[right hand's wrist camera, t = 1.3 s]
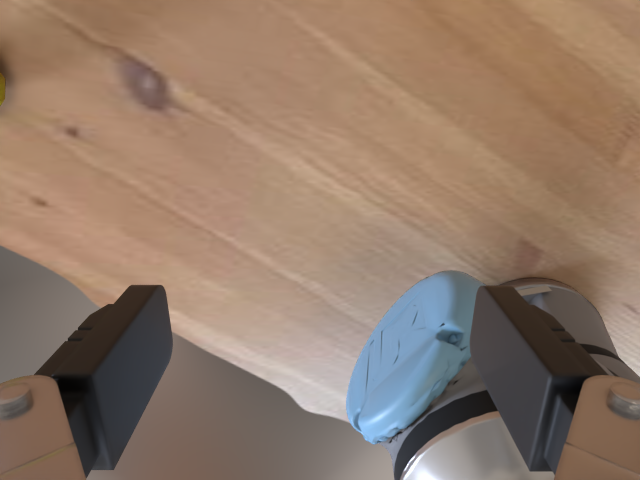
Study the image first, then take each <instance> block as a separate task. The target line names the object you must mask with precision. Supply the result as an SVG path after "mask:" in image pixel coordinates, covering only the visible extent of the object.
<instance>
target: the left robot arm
mask: <svg viewBox="0 0 640 480" xmlns="http://www.w3.org/2000/svg"><path fill="white" fill-rule="evenodd" d="M480 286H487V285H485V284H484V283H482V282H480V281H478V280H477V279H475V278H473V277H471V276H470V275H468V274H466V273H463V272H459V271H452V270H450V271H442V272H438V273H436V274H434V275H432V276H430V277H426V278H425V279H423V280H421V281H420V282H418V283H417V284H415V285H414V286H413V287H411V288H410V289H409V290H408V291H407V292H406V293H405V294H403V295H402V296H401V297H400V298H399V299H398V300H397V301H396V303H395V304H394V305H393V306H392V307H391V308H390V309H389V311H388V312H387V313H386V314H385V316H384V317H383V318H382V319H381V321H380V322H379V324H378V325H377V326H376V328H375V329H374V331H373V332H372V334H371V336H370V338H369V339H368V341H367V343H366V345H365V347H364V348H363V350H362V352H361V354H360V356H359V358H358V360H357V363H356V365H355V367H354V370H353V373H352V376H351V379H350V383H349V387H348V392H347V398H346V409H347V415H348V419H349V421H350V423H351V425H352V426H353V427H354V428H355V430H357V431H358V432H360V433H361V434H362V435H363V437H364V439H365V440H366V441H369V442H370V443H372V444H377V443H379V444H381V445H382V446H384V447H385V448H386V449H387V450H388V451H389V453H390V455H391V458H392V463H393V471H394V480H554V477H555V475H554V473H553V472H530V471H529V469H528V467H527V465H526V463H525V462H524V460H523V458H522V456H521V454H520V452H519V450H518V448H517V446H516V444H515V442H514V440H513V439H512V437H511V435H510V433H509V431H508V429H507V427H506V425H505V423H504V421H503V419H502V417H501V416H500V414H499V412H498V410H497V408H496V406H495V404H494V402H493V400H492V398H491V396H490V394H489V393H488V391H487V389H486V387H485V385H484V383H483V381H482V379H481V377H480V375H479V373H478V371H477V369H476V368H475V366H474V364H473V361H472V358H471V354H470V334H471V327H472V320H473V313H474V307H475V300H476V294H477V290H478V288H479V287H480ZM499 286H512V287H514V288H515V289H516V291H517V292H518V293H519V294H520V295H521V296H522V297H523V298H524V300H525V301H526V302H527V303H528V304H529V305H535V306H537V307H539V308H540V309H542V310H544V311H545V312H547V313H549V314H551V315H552V316H554V318H555V319H556V320H557V321H558V322H559V323H560V324H561V325H562V326H563V327H564V328H565V331H568V332H569V333H570V334H571V336H572V337H573V338H574V339H575V342H578V343H579V344H580V345H581V346H582V347H583V348H584V349H585V350H586V351H587V352H588V354H589V355H590V356H591V357H592V358H593V359H594V360H595V361H596V362H597V363H598V364H599V365H600V366H601V367H602V368H603V369H604V370H605V371H606V373H607V374H608V375H610V376H617V377H621V378H625V379H628V380H631V381H634V382H637V383H639V384H640V377H639V376H638V375H637V374H636V373H635V372H634V371H633V370H632V369H631V368H629V367H628V366H627V365H626V364H625V363H624V362H623V361H622V360H621V359H620V358H619V357H618V354H617V352H616V350H615V347H614V345H613V343H612V341H611V338H610V336H609V334H608V332H607V330H606V327H605V325H604V322H603V320H602V318H601V316H600V314H599V312H598V311H597V310H596V308H595V307H594V306H593V305H592V304H591V303H590V302H589V301H588V300H587V299H586V298H584V297H583V296H582V295H581V294H580V293H578V292H577V291H576V290H575V289H573V288H571V287H570V286H568V285H566V284H563V283H561V282H558V281H554V280H550V279H543V278H527V279H519V280H514V281H510V282H507V283H504V284H501V285H499Z"/></svg>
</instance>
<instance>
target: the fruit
mask: <svg viewBox="0 0 640 480" xmlns="http://www.w3.org/2000/svg"><path fill="white" fill-rule="evenodd" d="M4 99H5V78H4V76H3V75H2V74H1V73H0V106H1V104H2V103H3V101H4Z"/></svg>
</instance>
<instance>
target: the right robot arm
mask: <svg viewBox="0 0 640 480" xmlns="http://www.w3.org/2000/svg"><path fill="white" fill-rule="evenodd" d="M172 346H173V339H172V331H171V324H170V317H169V310H168V304H167V297H166V292H165V289H164V287H163V286H162V285H131V286H129V287H128V288H127V289H126V291H125V292H124V293H123V294H122V295H121V296H120V297H119V299H118V300H117V301H116V302H115V303H114V304H108V305H106V306H104V307H103V308H101V309H99V310H98V311H96V312H94V313H93V314H91V315H90V316H89V317H88V318H87V319H86V320H85V321H84V322H83V323H82V324H81V325H80V326H79V327H78V330H76V331H75V332H74V333H73V334H72V335H71V336H70V337H69V338H68V341H65V342H64V343H63V344H62V345H61V346H60V348H59V349H58V350H57V351H56V352H55V353H54V354H53V355H52V356H51V357H50V358H49V359H48V360H47V362H45V364H44V365H43V366H42V367H41V368H40V369H39V370H38V371H37V372H36V373H35V374H34V375H30V376H23V377H19V378H15V379H12V380H9V381H6V382H3V383H1V384H0V480H86V478H87V476H88V474H89V473H90V471H91V470H114V468H115V466H116V464H117V462H118V461H119V459H120V457H121V455H122V453H123V451H124V449H125V447H126V445H127V443H128V441H129V439H130V437H131V435H132V433H133V431H134V429H135V427H136V426H137V424H138V422H139V420H140V418H141V416H142V414H143V412H144V410H145V408H146V406H147V404H148V402H149V400H150V398H151V396H152V394H153V393H154V391H155V389H156V387H157V385H158V383H159V381H160V379H161V377H162V375H163V373H164V371H165V369H166V367H167V365H168V363H169V361H170V358H171V354H172ZM470 354H471V358H472V361H473V364H474V366H475V368H476V369H477V371H478V373H479V375H480V377H481V379H482V381H483V383H484V385H485V387H486V389H487V391H488V393H489V394H490V396H491V398H492V400H493V402H494V404H495V406H496V408H497V410H498V412H499V414H500V416H501V417H502V419H503V421H504V423H505V425H506V427H507V429H508V431H509V433H510V435H511V437H512V439H513V440H514V442H515V444H516V446H517V448H518V450H519V452H520V454H521V456H522V458H523V460H524V462H525V463H526V465H527V467H528V469H529V471H530V472H553V473H554V475H555V477H554V480H640V384H639V383H637V382H634V381H631V380H628V379H625V378H621V377H617V376H610V375H608V374H607V373H606V371H605V370H604V369H603V368H602V367H601V366H600V365H599V364H598V363H597V362H596V361H595V360H594V359H593V358H592V357H591V356H590V355H589V354H588V352H587V351H586V350H585V349H584V348H583V347H582V346H581V345H580V344H579V343H578V342H575V339H574V338H573V337H572V336H571V334H570V333H569V332H568V331H565V328H564V327H563V326H562V325H561V324H560V323H559V322H558V321H557V320H556V319H555V318H554V316H552V315H551V314H549V313H547V312H545V311H544V310H542V309H540V308H539V307H537V306H535V305H529V304H528V303H527V302H526V301H525V300H524V298H523V297H522V296H521V295H520V294H519V293H518V292H517V291H516V289H515V288H514V287H512V286H480V287H479V288H478V290H477V294H476V300H475V307H474V313H473V320H472V327H471V334H470Z"/></svg>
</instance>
